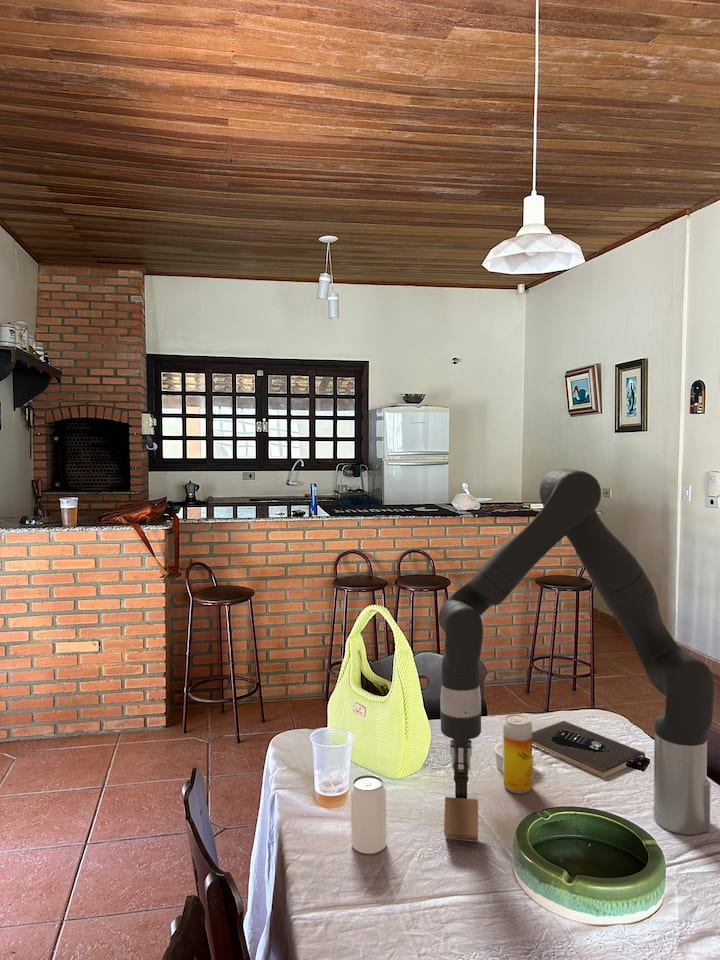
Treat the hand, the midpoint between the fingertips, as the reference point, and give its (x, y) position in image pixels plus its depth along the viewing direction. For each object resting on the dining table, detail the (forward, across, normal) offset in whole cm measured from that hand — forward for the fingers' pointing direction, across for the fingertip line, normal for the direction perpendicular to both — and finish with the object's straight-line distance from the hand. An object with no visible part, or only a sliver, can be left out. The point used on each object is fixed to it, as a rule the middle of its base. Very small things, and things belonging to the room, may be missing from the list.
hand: (461, 797), depth 129 cm
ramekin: (+8, +29, -12) cm, 32 cm away
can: (+8, -5, +17) cm, 19 cm away
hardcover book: (+8, +40, -29) cm, 50 cm away
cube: (+5, +1, 0) cm, 5 cm away
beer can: (+8, +20, -12) cm, 25 cm away
